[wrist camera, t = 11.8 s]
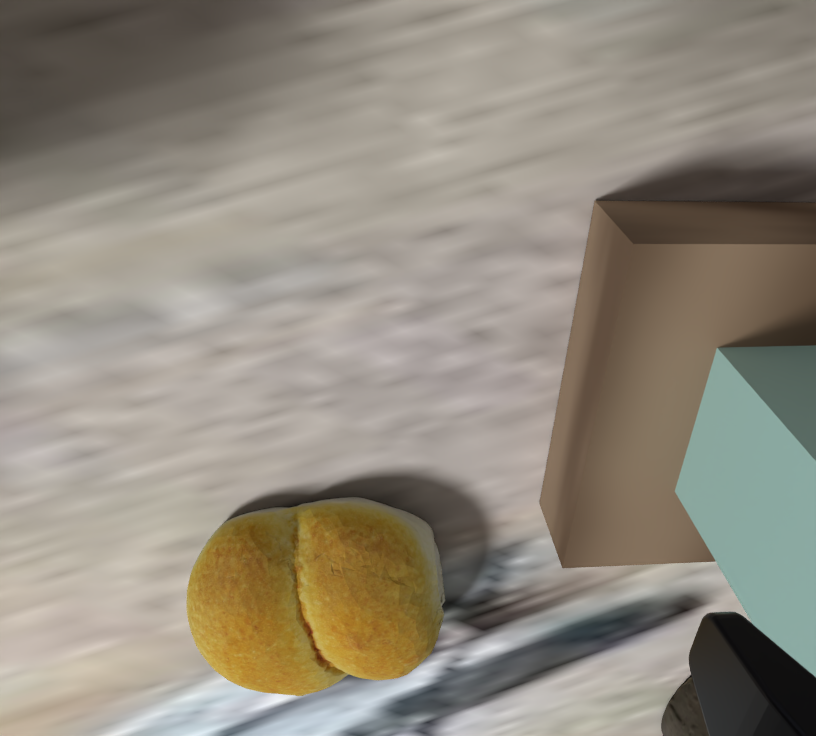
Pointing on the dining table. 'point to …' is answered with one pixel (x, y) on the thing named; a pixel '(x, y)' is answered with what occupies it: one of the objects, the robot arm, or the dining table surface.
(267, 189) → the dining table surface
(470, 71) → the dining table surface
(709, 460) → the pillar
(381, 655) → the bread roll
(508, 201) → the dining table surface
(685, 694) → the pillar candle
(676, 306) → the walnut base
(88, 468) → the dining table surface
